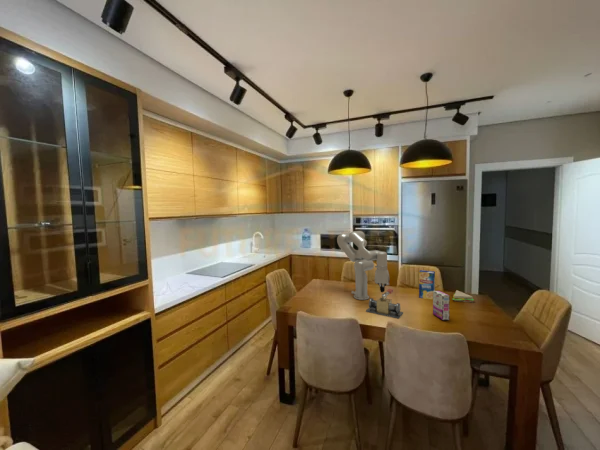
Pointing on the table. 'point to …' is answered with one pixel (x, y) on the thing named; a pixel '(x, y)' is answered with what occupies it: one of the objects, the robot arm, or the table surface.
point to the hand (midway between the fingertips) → (382, 291)
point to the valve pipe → (384, 308)
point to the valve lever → (387, 293)
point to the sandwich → (462, 297)
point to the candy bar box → (441, 305)
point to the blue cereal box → (426, 284)
